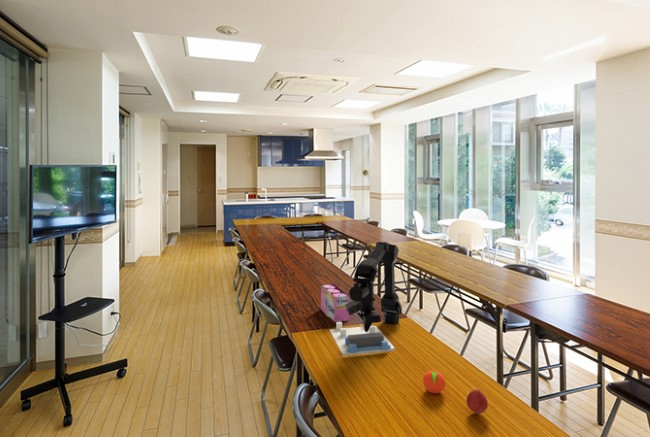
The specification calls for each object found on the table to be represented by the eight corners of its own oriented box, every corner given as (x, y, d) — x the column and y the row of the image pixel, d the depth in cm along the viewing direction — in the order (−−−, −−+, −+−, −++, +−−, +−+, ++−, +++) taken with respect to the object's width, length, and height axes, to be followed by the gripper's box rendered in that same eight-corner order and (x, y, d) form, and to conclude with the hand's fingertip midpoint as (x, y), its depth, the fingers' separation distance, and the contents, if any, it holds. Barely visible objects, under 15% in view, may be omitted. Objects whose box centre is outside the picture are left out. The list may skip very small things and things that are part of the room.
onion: (463, 414, 113) (464, 389, 112) (469, 405, 117) (470, 381, 117) (483, 422, 109) (485, 396, 108) (489, 412, 114) (490, 387, 113)
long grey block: (380, 342, 160) (380, 332, 159) (383, 346, 156) (383, 336, 155) (347, 345, 157) (347, 335, 156) (350, 350, 153) (350, 339, 153)
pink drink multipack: (319, 308, 205) (319, 283, 204) (333, 307, 208) (333, 282, 206) (334, 324, 183) (334, 297, 181) (349, 322, 185) (350, 295, 184)
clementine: (445, 401, 120) (446, 379, 119) (422, 397, 122) (423, 376, 121) (444, 387, 128) (445, 367, 127) (423, 384, 129) (423, 364, 129)
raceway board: (375, 327, 179) (375, 319, 178) (395, 351, 154) (395, 341, 154) (329, 331, 174) (329, 322, 174) (342, 356, 150) (342, 346, 149)
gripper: (341, 289, 162) (341, 324, 163) (353, 303, 143) (353, 343, 145) (366, 287, 164) (366, 322, 165) (381, 301, 146) (381, 340, 147)
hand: (366, 331), depth 156 cm, fingers closed
